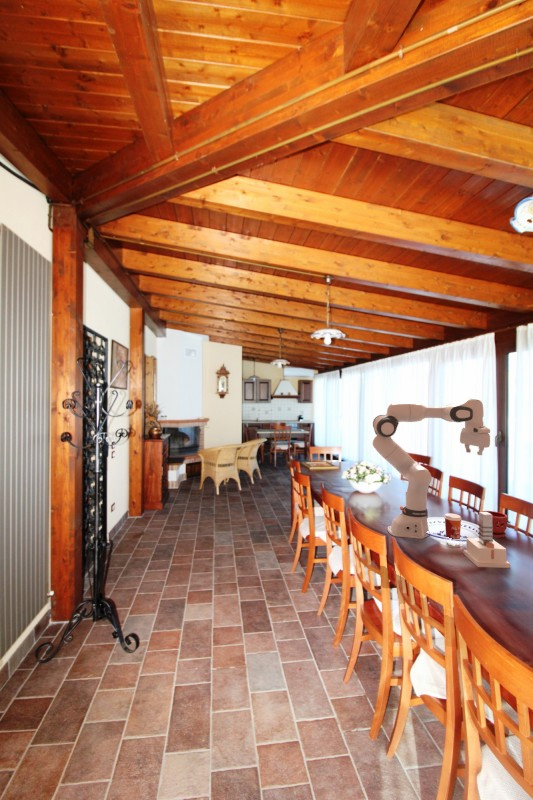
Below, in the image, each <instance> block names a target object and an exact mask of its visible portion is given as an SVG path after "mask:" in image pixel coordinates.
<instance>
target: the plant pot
mask: <svg viewBox="0 0 533 800" xmlns="http://www.w3.org/2000/svg"><path fill="white" fill-rule="evenodd" d="M480 512H489V513H490V514H492V527H493V529H492V531H493V533H492V535H493V537H492V538H494V539H496V538H498V539H499V538H504V537H506V535H507V534H506V530H507V528H508V521H509V520H508V519H509V518H508V515H507V514H505V513H503V512H499V511H493V510H492V511H491V510H482V511H480Z"/></svg>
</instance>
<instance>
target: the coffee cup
mask: <svg viewBox="0 0 533 800" xmlns="http://www.w3.org/2000/svg"><path fill="white" fill-rule="evenodd" d="M443 518H444V524H445V526H444V527H445V538H446V537H449V538H452V539H460V540H461V527H462V516H461V515H459V514H456V513H445V514H444V516H443Z"/></svg>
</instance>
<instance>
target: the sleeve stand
mask: <svg viewBox="0 0 533 800" xmlns="http://www.w3.org/2000/svg"><path fill="white" fill-rule="evenodd" d="M465 539H466V549H463V550H462V551H463V553H462V554H463V555H464V556H465V557H466V558H467V559H469V561H471V562H472V564H474V565H475V566H476V567H478V568H500V569H501V568H503V569H506V568H507V569H510V568H511V563H510V562H509V561H508V560H507V548H506V547H504V546H503V545H501V544H500V543H498V542H497V541H495V539H493V538H492V540H493V542H492V543H489V542H486V546H482V545H481V544H480V543H479V538H475V537H473V538H472V537H471V538H470V537H469V538H468V537H467V538H465Z"/></svg>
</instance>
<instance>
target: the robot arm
mask: <svg viewBox="0 0 533 800" xmlns="http://www.w3.org/2000/svg"><path fill="white" fill-rule="evenodd" d="M483 418H484V405H483V401H481V400H480V399H474V398H467V399H466V400H465V401H462V402H460V403H457V404H452V403H450V404H446V405H443V406H433V407H432V406H425V405H423V404H421V403H417V402H408V401H407V402H405V401H404V402H395V403H394V402H393V403H391V404H389V405H388V407H387V410H386V414H379V415H377V416H375V418H373V421H372V427H373V431H374V433H375V437H373V440H372V447H373V448H374V450H376V452H377V454H379V455H380V456H381V457H382V458H383V459H384V460H385V461H387V463H389V464H390V466H391V467H393V468H394V469H395V470H396V471H397V472H399V474H401V476H402V477H404V478H405V479H406V480H407V481H408V484H407V489H406V491H405V506H404V507H403V506H402V505H401V506H399V510H400V511H401V514H399V515H397V516H395V517H394V518H393V519H392V521H391V525H388V526H387V532H388V533H389V534H390V535H391V536H393V537H399V538H409V539H410V538H411V539H420V540H423V539H426V538H427V537H429V536H430V535H427V534H426V532H427V531H429V532H430V530H429V525H428V516H429V512H428V508H427V507H428V504H427V501H428V500H427V499H428V498H427V497H428V490H429V486H430V483H431V482H432V479H433V478H432V474H431V472H430V471H429V469H428V468H426V467H424V466H423V465H421V464H419V463H418V462H416V460H414V459H413V458H412V456H411V455H410V454H409V453H408V452H407V451H406V450H405V449H404V448H402V447H401V446H400V445H399V444H398V443H397V442H396V441H394V439H393V438H392V436H394V435H395V434H396V432H397V429H398V427H399V423H403V422H405V423H414V422H415V423H416V422H421V421H422V420H424V419H442V420H444V421H447V422H449V423H463V422H464V427H463V428H462V429H461V431H460V435H459V436H460V437H459V443H460V444H464V448H465V451H466V453H467V454H470V453H471V451H472V449H470V448H471V447H470V446H474V447H478V451H477V454H476V455H478V456H483V451H485V449H487V448H489V447H490V445H491V435H490V433H491V429H490V428H489V427H487V426H485V425H484V419H483Z"/></svg>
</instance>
